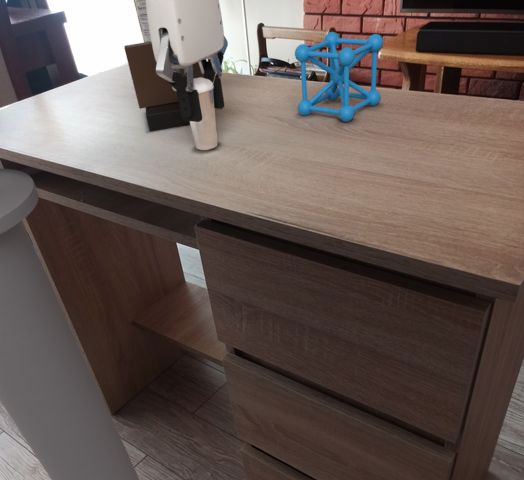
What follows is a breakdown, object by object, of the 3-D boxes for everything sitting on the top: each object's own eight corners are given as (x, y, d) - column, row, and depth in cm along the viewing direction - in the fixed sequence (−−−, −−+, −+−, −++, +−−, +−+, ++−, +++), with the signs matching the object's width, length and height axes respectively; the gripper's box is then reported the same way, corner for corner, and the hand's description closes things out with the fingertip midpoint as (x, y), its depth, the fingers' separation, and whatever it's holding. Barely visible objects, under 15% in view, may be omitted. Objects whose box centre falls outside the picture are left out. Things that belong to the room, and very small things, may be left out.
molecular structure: (383, 104, 83) (386, 32, 76) (348, 125, 78) (349, 50, 71) (330, 97, 88) (329, 29, 82) (295, 116, 83) (291, 45, 76)
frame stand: (149, 131, 85) (145, 115, 83) (148, 113, 92) (144, 98, 91) (209, 121, 86) (207, 105, 84) (203, 103, 93) (201, 88, 91)
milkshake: (223, 151, 74) (212, 74, 68) (187, 152, 76) (173, 77, 69) (230, 139, 78) (220, 65, 71) (196, 141, 79) (183, 68, 72)
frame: (139, 108, 86) (123, 46, 80) (139, 105, 87) (123, 43, 81) (210, 96, 87) (200, 33, 81) (209, 93, 88) (199, 31, 82)
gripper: (193, -55, 68) (216, 93, 80) (103, -33, 58) (145, 133, 70) (241, -59, 65) (257, 96, 77) (154, -37, 55) (188, 138, 67)
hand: (203, 112), depth 73 cm, fingers closed on milkshake, 4 cm apart
